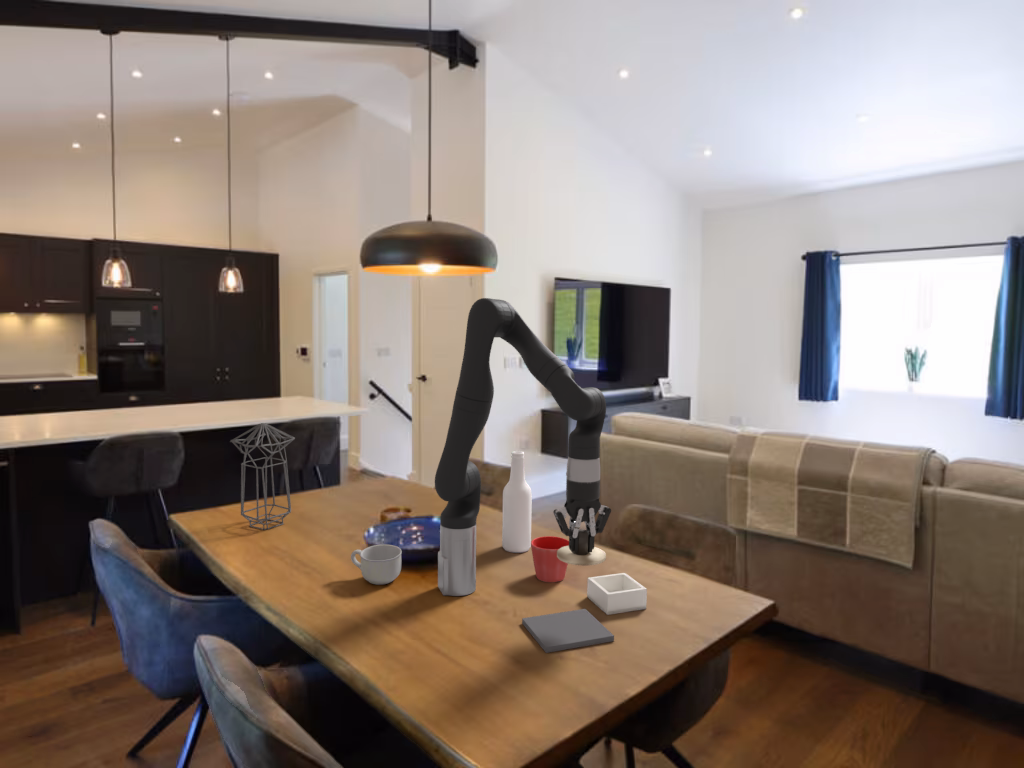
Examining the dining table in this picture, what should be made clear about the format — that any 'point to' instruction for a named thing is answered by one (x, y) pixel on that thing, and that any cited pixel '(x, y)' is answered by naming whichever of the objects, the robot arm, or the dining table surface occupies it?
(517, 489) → the alcohol
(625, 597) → the dish
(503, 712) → the dining table surface
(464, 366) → the robot arm
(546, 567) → the flower pot
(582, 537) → the lid
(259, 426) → the geometric lantern
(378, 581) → the teacup
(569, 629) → the mat
